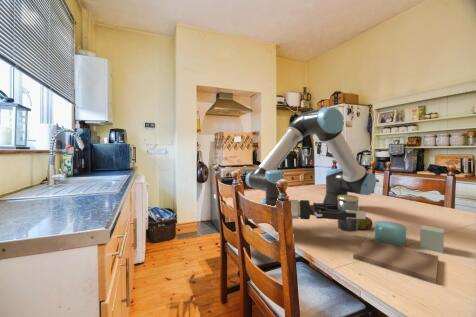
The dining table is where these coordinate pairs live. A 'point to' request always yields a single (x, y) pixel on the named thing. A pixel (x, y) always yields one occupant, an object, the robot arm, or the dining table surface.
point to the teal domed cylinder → (390, 233)
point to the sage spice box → (431, 238)
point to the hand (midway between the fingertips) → (361, 211)
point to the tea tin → (352, 205)
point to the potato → (364, 223)
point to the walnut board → (398, 259)
